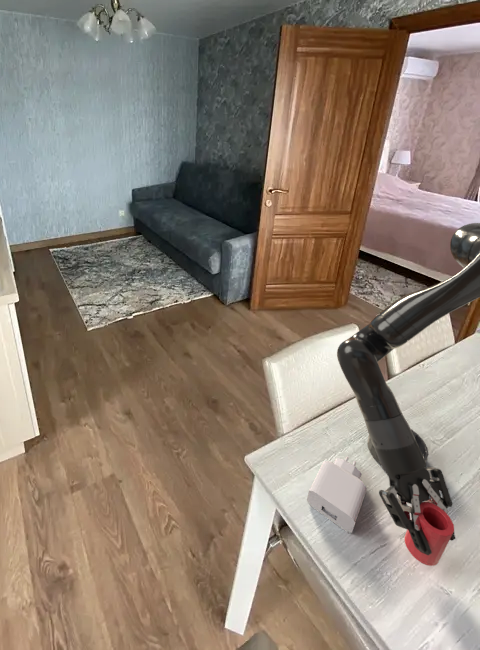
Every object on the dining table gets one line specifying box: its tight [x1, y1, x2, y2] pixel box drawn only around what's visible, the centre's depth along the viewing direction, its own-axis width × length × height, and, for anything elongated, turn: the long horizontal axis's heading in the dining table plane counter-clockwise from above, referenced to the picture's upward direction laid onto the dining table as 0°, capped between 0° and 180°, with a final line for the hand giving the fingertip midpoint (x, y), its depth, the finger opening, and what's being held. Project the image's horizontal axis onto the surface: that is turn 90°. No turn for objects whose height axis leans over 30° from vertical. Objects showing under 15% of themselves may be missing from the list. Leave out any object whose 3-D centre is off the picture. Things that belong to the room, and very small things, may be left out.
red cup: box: [404, 501, 455, 567], centre depth 62 cm, size 5×5×9 cm
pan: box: [366, 428, 430, 467], centre depth 85 cm, size 12×12×4 cm
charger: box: [306, 456, 368, 534], centre depth 76 cm, size 5×9×15 cm
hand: (437, 545), depth 61 cm, fingers closed on red cup, 5 cm apart
